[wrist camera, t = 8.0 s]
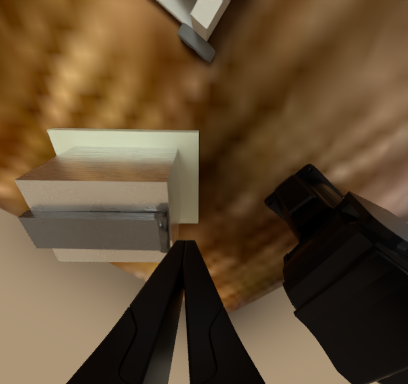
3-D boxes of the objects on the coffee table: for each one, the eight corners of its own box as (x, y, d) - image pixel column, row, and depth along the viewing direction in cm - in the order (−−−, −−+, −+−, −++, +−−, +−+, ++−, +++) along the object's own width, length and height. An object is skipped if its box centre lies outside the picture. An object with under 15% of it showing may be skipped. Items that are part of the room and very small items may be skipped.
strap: (168, 210, 14) (166, 218, 13) (171, 244, 16) (169, 253, 15) (26, 207, 14) (16, 215, 13) (45, 241, 16) (37, 250, 15)
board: (198, 130, 19) (198, 132, 18) (198, 219, 25) (198, 223, 24) (52, 127, 19) (47, 130, 18) (86, 218, 24) (83, 222, 24)
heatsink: (177, 148, 19) (166, 182, 13) (181, 213, 23) (173, 262, 17) (65, 146, 19) (2, 179, 13) (89, 212, 23) (49, 261, 17)
